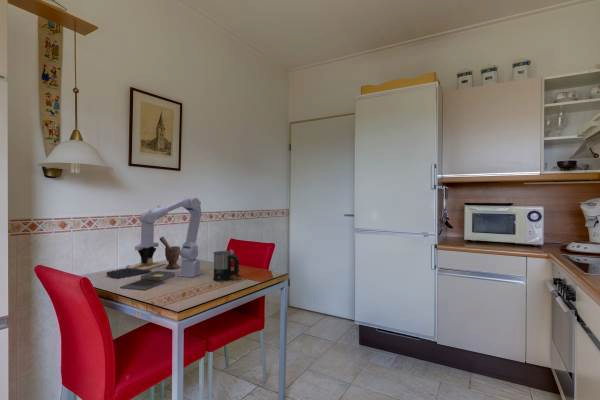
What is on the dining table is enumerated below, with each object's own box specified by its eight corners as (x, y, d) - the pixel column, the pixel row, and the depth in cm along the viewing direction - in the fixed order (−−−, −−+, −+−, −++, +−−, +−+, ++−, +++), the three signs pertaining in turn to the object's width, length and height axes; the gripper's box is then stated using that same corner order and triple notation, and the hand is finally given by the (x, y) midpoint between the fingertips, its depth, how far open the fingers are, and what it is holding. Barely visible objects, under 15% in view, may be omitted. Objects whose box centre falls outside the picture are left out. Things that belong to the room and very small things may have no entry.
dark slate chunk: (102, 276, 171) (102, 267, 171) (140, 269, 190) (141, 261, 190) (116, 280, 163) (117, 271, 163) (155, 272, 181) (155, 264, 181)
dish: (174, 276, 172) (174, 272, 172) (160, 281, 161) (160, 277, 161) (156, 274, 175) (156, 270, 175) (140, 279, 164) (140, 275, 164)
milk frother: (212, 281, 162) (212, 253, 162) (214, 274, 177) (214, 248, 177) (239, 281, 164) (240, 253, 165) (239, 274, 180) (240, 248, 180)
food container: (223, 268, 193) (224, 252, 193) (216, 267, 196) (217, 251, 196) (237, 265, 203) (237, 250, 203) (230, 264, 207) (231, 249, 207)
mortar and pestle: (166, 271, 183) (166, 237, 183) (157, 269, 187) (157, 236, 188) (182, 267, 193) (183, 235, 193) (173, 266, 197) (174, 234, 197)
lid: (166, 265, 161) (166, 257, 161) (148, 270, 148) (148, 261, 148) (145, 263, 164) (145, 255, 164) (125, 268, 151) (126, 259, 151)
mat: (164, 282, 158) (164, 281, 158) (144, 290, 144) (144, 289, 144) (141, 280, 161) (141, 279, 161) (119, 288, 147) (119, 287, 148)
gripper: (150, 234, 164) (150, 259, 164) (129, 236, 150) (129, 264, 150) (162, 234, 163) (161, 260, 162) (142, 237, 149) (141, 265, 148)
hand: (146, 262), depth 156 cm, fingers closed on lid, 2 cm apart
